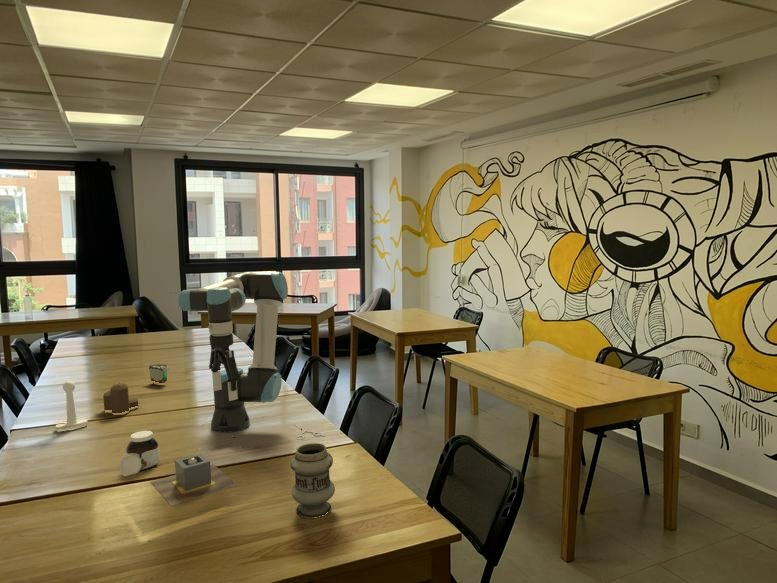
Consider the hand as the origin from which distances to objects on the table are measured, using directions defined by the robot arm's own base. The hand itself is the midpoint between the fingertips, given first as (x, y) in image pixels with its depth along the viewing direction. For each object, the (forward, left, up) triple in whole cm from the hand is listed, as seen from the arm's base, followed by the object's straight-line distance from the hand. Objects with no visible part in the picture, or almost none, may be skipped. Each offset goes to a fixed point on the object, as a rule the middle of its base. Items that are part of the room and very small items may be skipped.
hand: (225, 394), depth 185 cm
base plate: (+12, -16, -24) cm, 31 cm away
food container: (-120, +14, -24) cm, 123 cm away
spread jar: (-13, -25, -24) cm, 37 cm away
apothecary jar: (+48, +5, -24) cm, 54 cm away
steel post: (+12, -16, -22) cm, 30 cm away
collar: (+12, -16, -22) cm, 30 cm away
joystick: (-76, -35, -24) cm, 87 cm away
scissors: (-8, +35, -24) cm, 43 cm away
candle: (-85, -14, -24) cm, 89 cm away
